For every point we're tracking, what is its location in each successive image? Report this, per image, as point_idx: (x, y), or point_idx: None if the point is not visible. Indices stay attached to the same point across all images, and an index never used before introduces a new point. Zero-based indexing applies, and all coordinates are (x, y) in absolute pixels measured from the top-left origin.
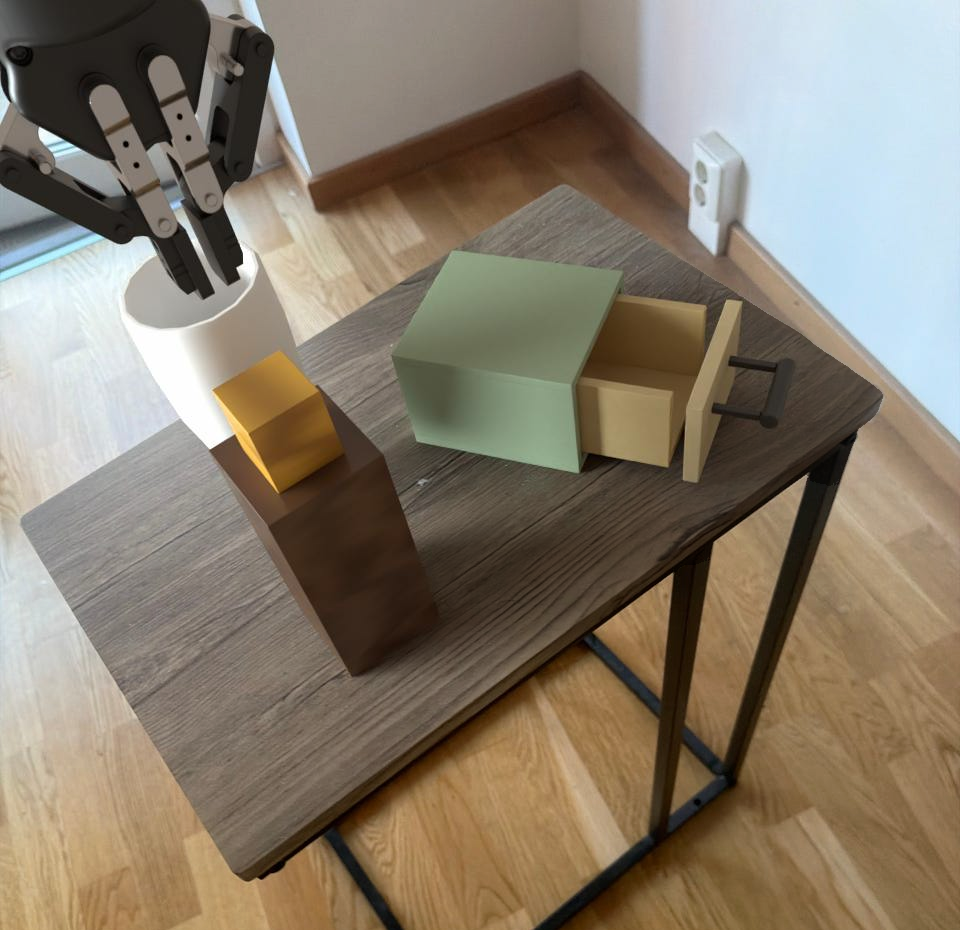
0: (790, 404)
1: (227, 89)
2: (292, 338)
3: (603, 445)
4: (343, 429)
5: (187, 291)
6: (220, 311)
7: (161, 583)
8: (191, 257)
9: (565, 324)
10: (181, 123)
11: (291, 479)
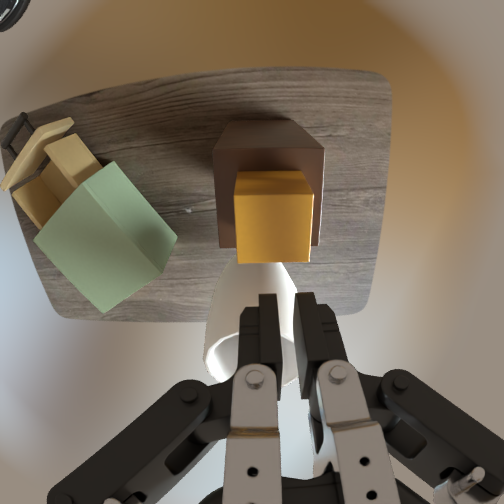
0: (20, 141)
1: (148, 487)
2: (211, 304)
3: (93, 162)
4: (225, 194)
5: (325, 307)
6: None
7: (341, 243)
8: (312, 330)
9: (67, 227)
10: (254, 498)
11: (287, 172)
